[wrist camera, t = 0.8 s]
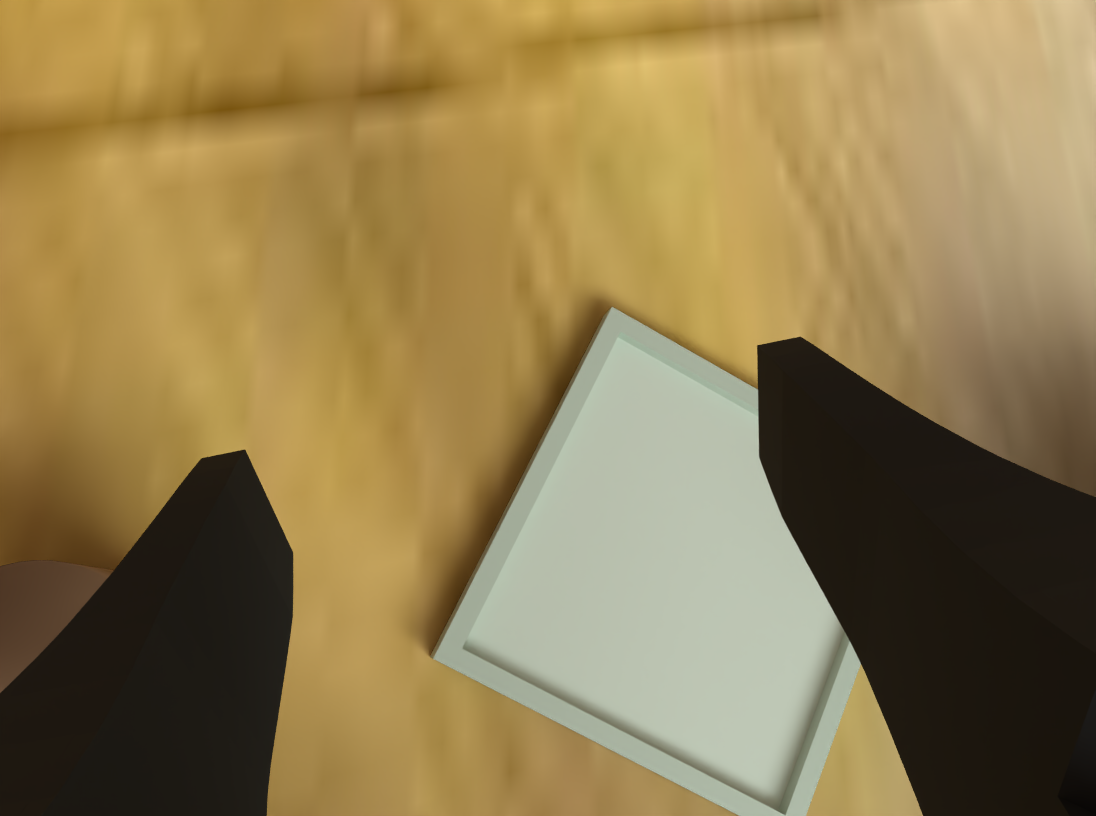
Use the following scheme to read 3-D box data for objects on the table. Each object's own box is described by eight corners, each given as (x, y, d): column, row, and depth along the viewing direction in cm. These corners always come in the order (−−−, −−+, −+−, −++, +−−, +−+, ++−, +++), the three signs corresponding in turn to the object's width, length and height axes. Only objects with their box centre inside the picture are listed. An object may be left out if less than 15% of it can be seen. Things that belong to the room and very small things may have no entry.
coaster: (780, 836, 27) (795, 844, 26) (429, 656, 26) (433, 658, 25) (908, 488, 31) (925, 485, 30) (603, 315, 30) (612, 306, 29)
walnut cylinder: (125, 787, 24) (67, 838, 19) (-46, 705, 23) (-156, 734, 18) (224, 618, 25) (195, 623, 20) (64, 538, 25) (-8, 520, 19)
